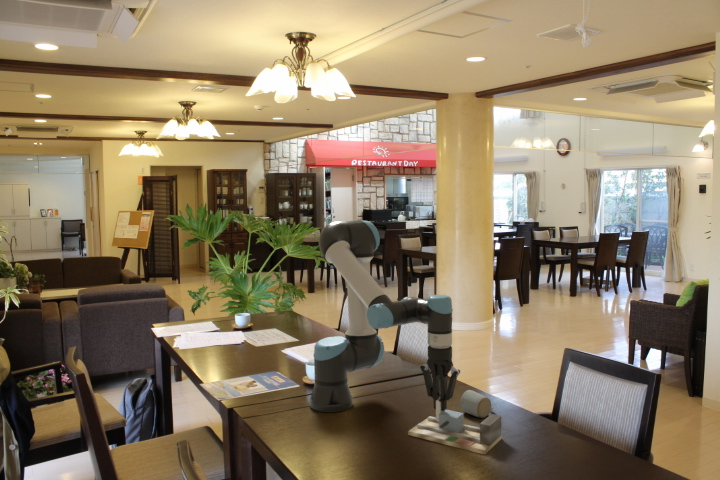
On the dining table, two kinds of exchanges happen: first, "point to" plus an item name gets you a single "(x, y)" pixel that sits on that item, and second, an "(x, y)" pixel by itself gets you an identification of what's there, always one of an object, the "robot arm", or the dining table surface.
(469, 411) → the ceramic mug
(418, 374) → the dining table surface
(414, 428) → the gauge base
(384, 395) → the dining table surface
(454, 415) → the carriage
